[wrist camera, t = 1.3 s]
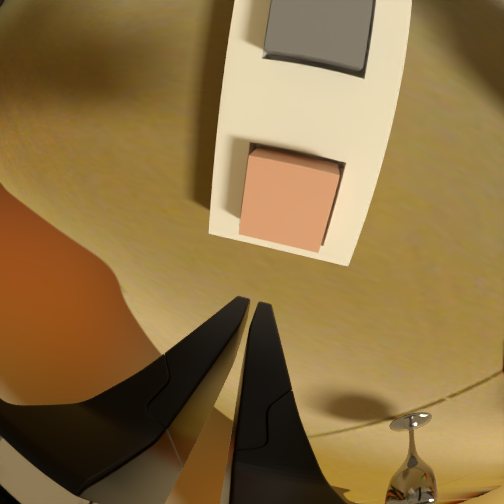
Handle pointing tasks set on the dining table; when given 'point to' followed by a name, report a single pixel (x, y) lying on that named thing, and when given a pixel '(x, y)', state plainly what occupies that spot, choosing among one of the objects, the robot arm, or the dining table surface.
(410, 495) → the wine glass
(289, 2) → the charcoal key
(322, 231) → the terracotta key
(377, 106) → the cream block puzzle board
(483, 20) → the dining table surface
